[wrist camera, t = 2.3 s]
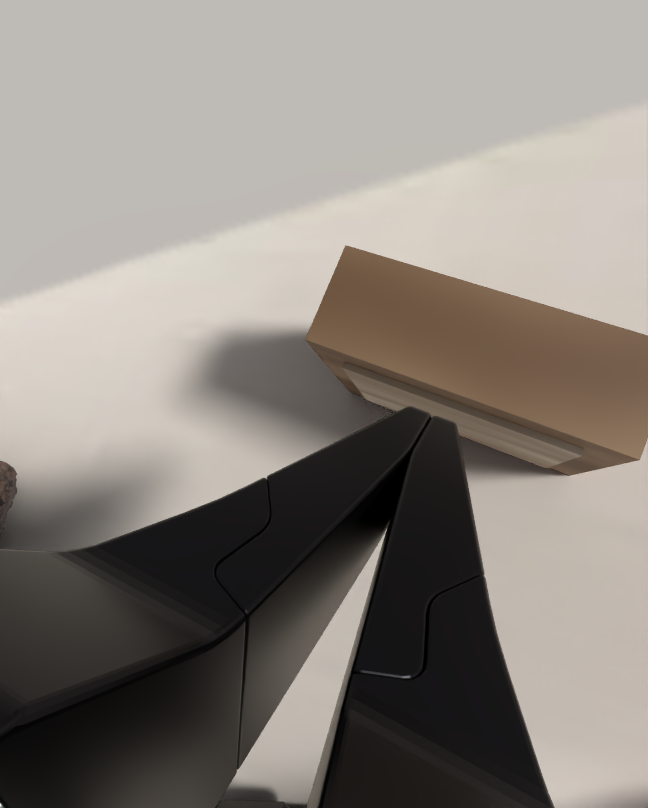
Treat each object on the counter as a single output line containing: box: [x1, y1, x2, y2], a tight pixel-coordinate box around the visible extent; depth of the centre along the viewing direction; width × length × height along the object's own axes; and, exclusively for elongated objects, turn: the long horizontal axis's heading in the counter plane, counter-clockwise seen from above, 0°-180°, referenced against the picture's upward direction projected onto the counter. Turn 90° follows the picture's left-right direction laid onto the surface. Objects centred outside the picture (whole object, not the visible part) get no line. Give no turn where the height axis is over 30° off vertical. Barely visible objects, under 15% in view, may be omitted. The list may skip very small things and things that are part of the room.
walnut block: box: [305, 246, 648, 476], centre depth 18 cm, size 3×9×8 cm, turn 67°
